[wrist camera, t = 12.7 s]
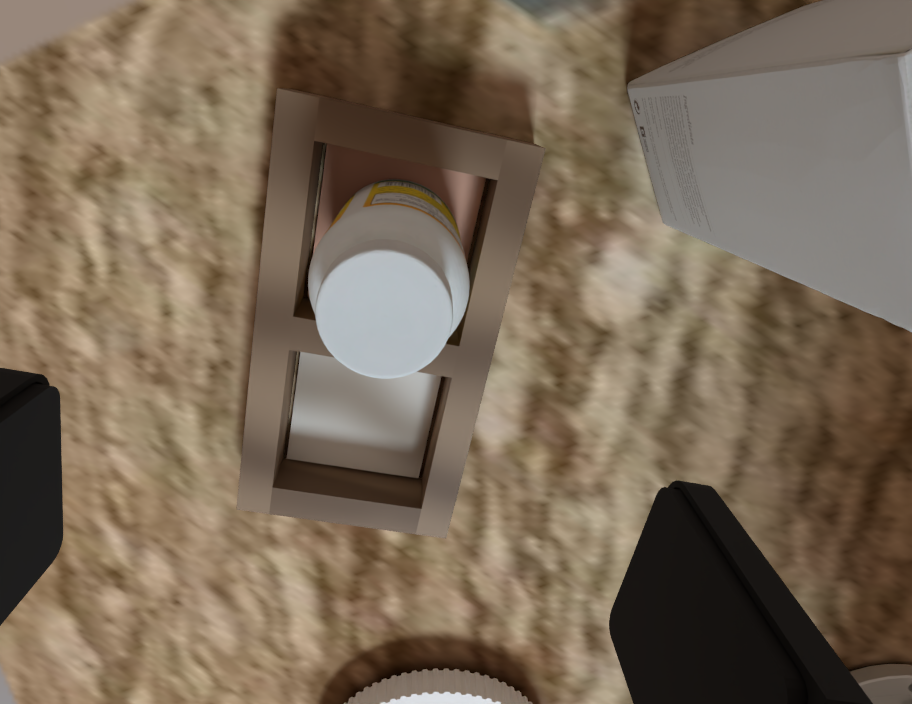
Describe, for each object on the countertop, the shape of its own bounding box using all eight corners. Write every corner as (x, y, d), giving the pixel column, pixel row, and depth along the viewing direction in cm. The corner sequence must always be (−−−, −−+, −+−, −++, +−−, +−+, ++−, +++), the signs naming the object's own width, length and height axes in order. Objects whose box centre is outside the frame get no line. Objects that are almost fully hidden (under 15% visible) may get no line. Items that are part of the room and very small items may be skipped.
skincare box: (658, 225, 27) (923, 370, 13) (618, 71, 25) (890, 41, 10) (846, 151, 26) (1353, 218, 12) (824, -15, 24) (1429, -179, 10)
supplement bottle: (425, 155, 25) (429, 188, 16) (478, 269, 27) (508, 355, 18) (309, 212, 26) (254, 274, 17) (370, 320, 28) (348, 426, 19)
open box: (444, 506, 32) (445, 538, 30) (250, 478, 31) (236, 509, 29) (534, 143, 26) (545, 148, 23) (290, 88, 24) (277, 88, 22)
